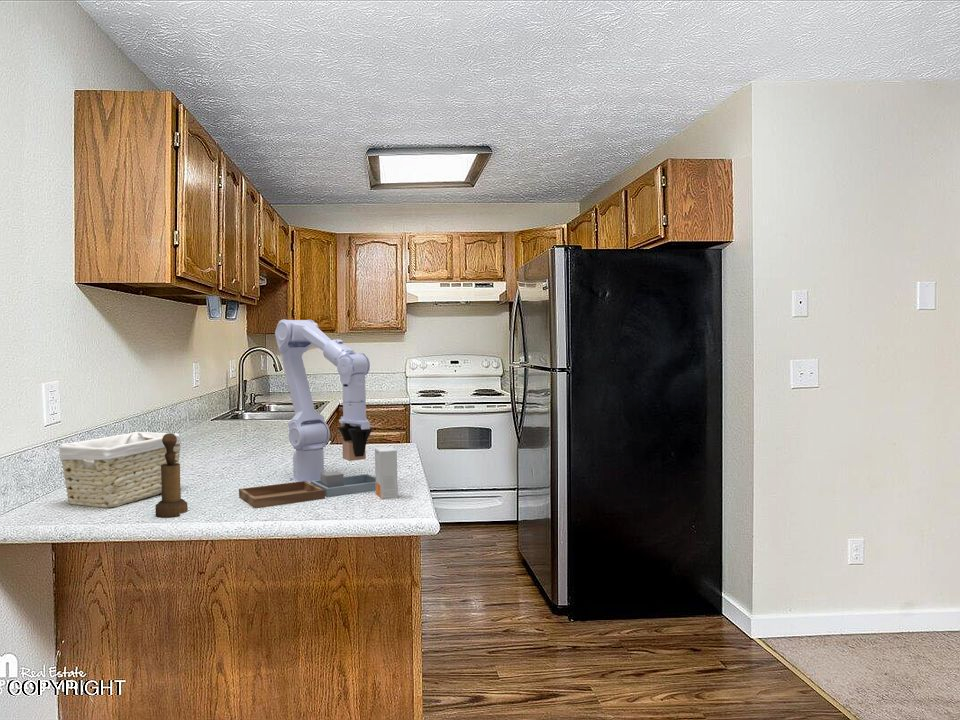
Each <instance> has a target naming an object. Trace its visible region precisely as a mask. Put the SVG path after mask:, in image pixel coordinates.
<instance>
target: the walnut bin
mask: <svg viewBox="0 0 960 720" xmlns="http://www.w3.org/2000/svg"><path fill="white" fill-rule="evenodd" d="M238 498H239V499H241V500H242V501H243V502H245V503H246V504H248V505H249V506H250V507H252V508H254V509H260V508H261V509H262V508H267V507H274V506H282V505H283V506H284V505H289V504H290V505H291V504H297V503H302V502H311V501H317V500H325V499H326V497H325V490H323V489H321V488H319V487H317V486H315V485H313V484H311V483H310V482H307V481H300V482H297V481H293V482H286V483H278V484H277V483H275V484H269V485H260V486H253V487H246V488H244V487H243V488H239V489H238Z"/></svg>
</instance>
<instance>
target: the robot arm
mask: <svg viewBox="0 0 960 720" xmlns="http://www.w3.org/2000/svg"><path fill="white" fill-rule="evenodd" d="M274 335H275V340H276V344H277V348H278V351H279V353H280V356H281V357H280V358H281V361H282V365H283V369H284V374H285V377H286V378H285V379H286V382H287V386H288V390H289V395H290V398H291V402H292V407H293V412H294V416H293V417H292V418H291V419H290V421H289V422H288V425H287V427H288V439H289V443H290V445H291V446H292V447H293V450H295V451H294V453H293V455H292V467H293V469H292V471H293V474H292V475H293V476H290V478H289V479H291V481H292V480H293V481H294V482H300V481H307V482H309V483H310V481H314V480H320V473H325V461H324V460H325V459H324V458H325V457H324V456H325V455H324V448H326V447H327V445H326V444H328V442H329V440H330V437H331V431H330V428H329V426H328V424H327V423H326V421H325V416H324V415H323V414H321V413H319V412H318V411H317V410H315V405H314V401H313V398H312V397H313V396H312V394H311V390H310V389H311V388H310V385H309V381H308V377H307V372H306V369H305V365H304V361H303V354H304V353H306V352H308V350H309V349H310V348H311V346H312V345H314V346H315V347H317V348H318V349H320V350H321V351H322V353H323V356H324V358H325V359H326V360H328V361H329V362H330V363H331V364H332V365H333V366H335V367H336V369H337V373H338V375H339V378H340V380H339V381H340V383H341V384H342V416H340V419H338V422H339V423H340V425H343V426H339V427H338V431H339V432H340V433H341V436H342V439H343V441H351V440H352V443H353V450H354V455H355V457H359V456H364V452H365V447H366V446H367V442H368V440H369V437H370V435H371V433H372V428H371V426H370V425H371V421H370V420H368V418H367V401H366V398H367V397H366V393H367V392H366V390H367V389H366V376H367V375H368V373H369V372H370V370H371V362H370V359H369V357H368V356H367V355H366V353H363V352H360V353H357V352H355V351H354V349H352V348H350V347H348V346H347V345H346V344H344V341H343V340H342V339H331V338H330V337H329V336H328V335H326V334H325V332H323V331H322V330H321V329H320V328H319V325H318V323H317V322H315V321H314V320H312V319H281V320H279V321H278V323H277V325H276V329H275V331H274Z"/></svg>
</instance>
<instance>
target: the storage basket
mask: <svg viewBox="0 0 960 720" xmlns="http://www.w3.org/2000/svg"><path fill="white" fill-rule="evenodd" d="M165 434H169V432H157V431H155V432H154V431H153V432H152V431H132V432H130V433H123V434H116V435H110V436H105V437H100V438H93V439H88V440H79V441H75V442H65V443H64V442H63V443H62V444H60V445H59V447H58V452H59V459H60V461H61V464H62V466H61V467H62V470H63V477H64V479H65V480H64V484H65V489H66V494H67V502H68V503H69V504H70V505H73V506H74V505H75V506H85V507H93V508H103V509H104V508H116V507H121V506H123V505H125V504H130V503H134V502H138V501H139V500H142V499H146V498H150V497H151V498H152V497H154V496H157V495H159V494H162V484H161V465H162V464H167V462H166V458H165V454H166V452H167V450H166V447H165V446H164V444H163V442H162V438H163V436H164V435H165ZM172 434H174V435H175V436H176V438H177V442H176V444H175V446H174V449H173V451H174V453H176V456H175V461H174V463H179V464H180V455H181V454H180V451H181V443H182V442H181V436H180V434H179V433H178V432H176V433H172Z"/></svg>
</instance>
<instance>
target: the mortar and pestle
mask: <svg viewBox="0 0 960 720" xmlns="http://www.w3.org/2000/svg"><path fill="white" fill-rule="evenodd" d="M168 433H169V432H168ZM162 442H163V444H164V446H165V447H166V450H167V452H166V454H165V458H166V462H167V464H162V465H161V484H162V493H161V500H160V501H158V502H157V504H155V506H154V507H155V509H154V510H155V516H156V517H159V518H172V517H178V516H181V514H184V513H187V512H188V511H189V509H188V501H186V500H185V499H183V498H182V496H181V495H182V492H181V489H182V488H181V463H180V462H179V463H174V461H175V456H176V453H174V451H173V449H174V446H175V444H176V442H177V438H176V436H175V435H174V433H173V434H172V433H171V432H170V433H169V434H165V435H164V436H163V438H162Z"/></svg>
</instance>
